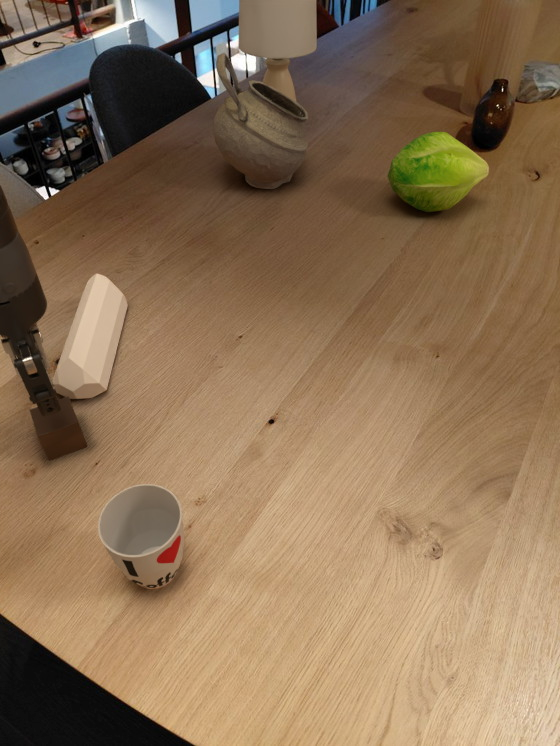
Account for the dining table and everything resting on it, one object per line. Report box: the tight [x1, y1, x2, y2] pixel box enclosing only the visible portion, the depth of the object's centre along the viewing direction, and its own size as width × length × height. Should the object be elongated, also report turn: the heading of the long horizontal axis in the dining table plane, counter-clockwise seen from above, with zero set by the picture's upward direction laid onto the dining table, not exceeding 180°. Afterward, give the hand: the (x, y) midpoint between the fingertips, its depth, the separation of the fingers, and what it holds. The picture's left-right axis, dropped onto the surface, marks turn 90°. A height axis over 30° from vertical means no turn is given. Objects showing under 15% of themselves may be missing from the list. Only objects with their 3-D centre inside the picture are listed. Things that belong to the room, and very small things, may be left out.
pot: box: [212, 52, 309, 190], centre depth 120 cm, size 21×21×25 cm
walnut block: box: [29, 396, 88, 462], centre depth 73 cm, size 5×5×5 cm
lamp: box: [238, 0, 318, 102], centre depth 136 cm, size 19×19×37 cm
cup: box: [97, 483, 185, 590], centre depth 59 cm, size 8×8×10 cm
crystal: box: [51, 272, 128, 400], centre depth 86 cm, size 7×7×24 cm
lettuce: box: [387, 131, 490, 213], centre depth 116 cm, size 15×20×14 cm
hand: (43, 388), depth 68 cm, fingers open, 8 cm apart
